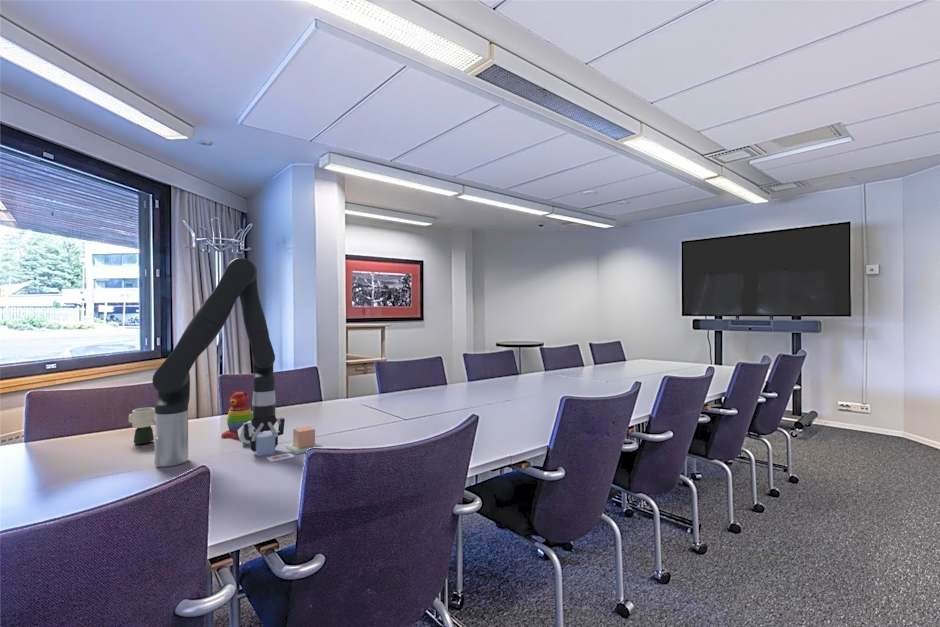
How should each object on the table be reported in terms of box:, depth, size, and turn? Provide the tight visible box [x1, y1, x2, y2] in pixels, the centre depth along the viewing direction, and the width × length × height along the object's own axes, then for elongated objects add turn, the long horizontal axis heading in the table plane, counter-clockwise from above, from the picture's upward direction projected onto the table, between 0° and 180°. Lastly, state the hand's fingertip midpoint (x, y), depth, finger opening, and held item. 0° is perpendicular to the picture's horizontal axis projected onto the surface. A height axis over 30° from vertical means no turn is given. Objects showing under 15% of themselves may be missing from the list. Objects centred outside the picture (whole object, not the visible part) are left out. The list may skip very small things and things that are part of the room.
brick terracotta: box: [292, 425, 316, 448], centre depth 166 cm, size 6×6×6 cm
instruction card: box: [266, 452, 296, 463], centre depth 156 cm, size 8×5×1 cm, turn 129°
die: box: [237, 421, 264, 446], centre depth 172 cm, size 8×9×10 cm
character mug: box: [128, 406, 155, 445], centre depth 171 cm, size 11×7×13 cm, turn 94°
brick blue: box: [253, 432, 276, 457], centre depth 161 cm, size 6×6×6 cm
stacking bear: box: [221, 391, 253, 440], centre depth 182 cm, size 11×10×18 cm
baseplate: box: [285, 441, 323, 455], centre depth 166 cm, size 10×10×1 cm
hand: (264, 448), depth 161 cm, fingers open, 6 cm apart
